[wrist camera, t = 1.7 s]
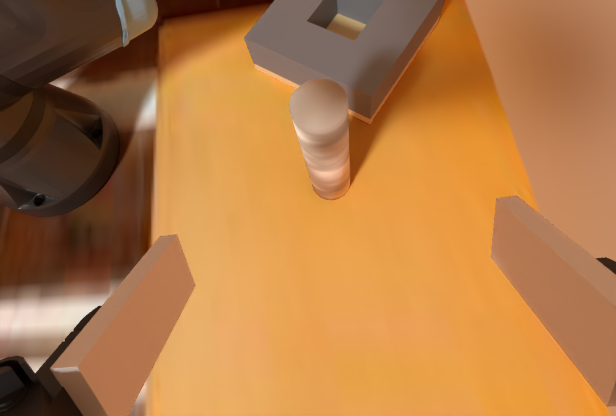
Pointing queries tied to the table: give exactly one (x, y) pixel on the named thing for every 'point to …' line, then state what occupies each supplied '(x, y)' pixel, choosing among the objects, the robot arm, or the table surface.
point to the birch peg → (323, 135)
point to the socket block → (343, 44)
